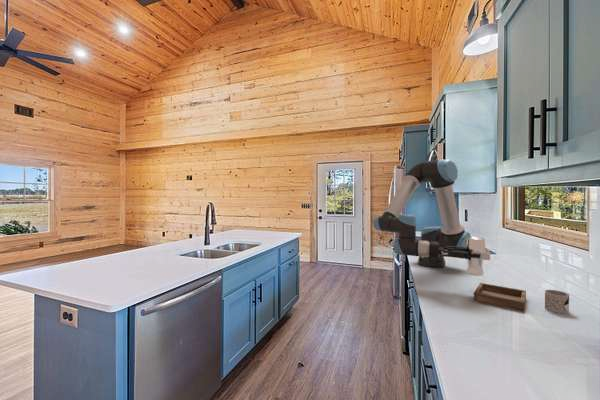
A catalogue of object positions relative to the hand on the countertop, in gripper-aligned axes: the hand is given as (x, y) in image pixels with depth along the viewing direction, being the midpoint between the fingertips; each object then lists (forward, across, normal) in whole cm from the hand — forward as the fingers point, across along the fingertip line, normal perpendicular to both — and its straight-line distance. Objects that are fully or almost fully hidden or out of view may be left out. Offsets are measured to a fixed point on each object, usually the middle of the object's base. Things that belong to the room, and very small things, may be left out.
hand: (489, 255), depth 117 cm
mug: (+21, 0, -18) cm, 28 cm away
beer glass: (-5, 0, -9) cm, 10 cm away
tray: (+4, 0, -18) cm, 18 cm away
